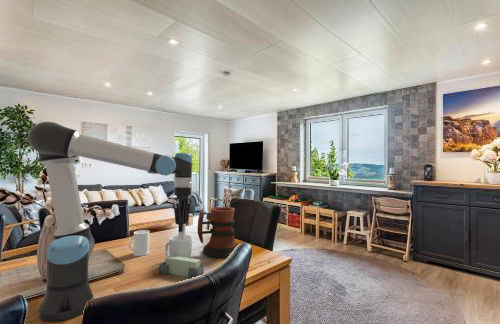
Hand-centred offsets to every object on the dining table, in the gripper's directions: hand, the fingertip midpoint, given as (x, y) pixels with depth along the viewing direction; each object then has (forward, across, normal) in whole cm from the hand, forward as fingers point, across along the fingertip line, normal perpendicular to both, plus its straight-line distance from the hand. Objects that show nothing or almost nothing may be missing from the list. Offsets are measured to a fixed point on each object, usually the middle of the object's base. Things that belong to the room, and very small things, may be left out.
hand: (181, 238), depth 119 cm
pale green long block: (+16, 0, -1) cm, 16 cm away
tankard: (+16, +33, -6) cm, 37 cm away
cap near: (+16, 0, -8) cm, 18 cm away
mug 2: (+16, +11, +8) cm, 21 cm away
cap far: (+16, 0, +7) cm, 18 cm away
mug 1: (+16, +15, +35) cm, 42 cm away
